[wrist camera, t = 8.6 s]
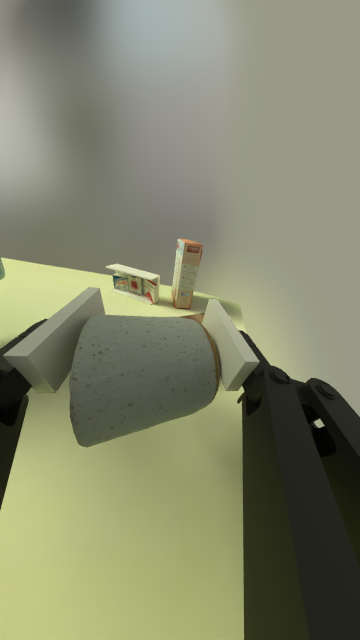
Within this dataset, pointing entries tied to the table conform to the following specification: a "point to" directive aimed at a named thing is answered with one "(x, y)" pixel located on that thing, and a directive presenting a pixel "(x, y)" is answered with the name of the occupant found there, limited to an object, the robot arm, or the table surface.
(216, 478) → the table surface
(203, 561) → the table surface
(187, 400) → the ceramic mug
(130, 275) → the white packet holder
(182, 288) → the cracker box
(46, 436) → the table surface
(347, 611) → the robot arm
